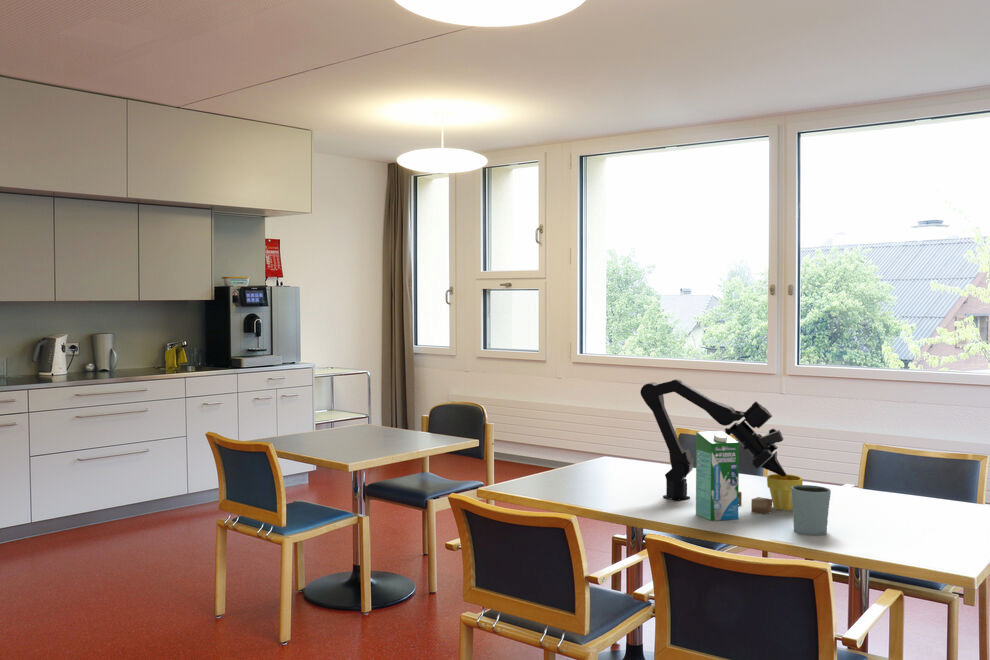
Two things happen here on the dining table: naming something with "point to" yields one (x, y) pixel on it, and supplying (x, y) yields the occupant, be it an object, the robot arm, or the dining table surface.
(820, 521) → the grey cup
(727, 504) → the milk carton
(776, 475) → the plant pot
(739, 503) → the marked block
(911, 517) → the dining table surface
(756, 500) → the marked block
